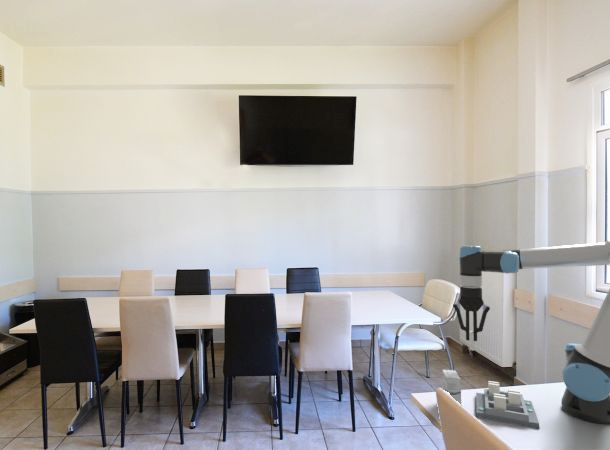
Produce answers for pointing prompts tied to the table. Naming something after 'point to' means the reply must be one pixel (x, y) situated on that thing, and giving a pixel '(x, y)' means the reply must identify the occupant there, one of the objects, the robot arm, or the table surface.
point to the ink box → (452, 384)
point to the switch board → (511, 414)
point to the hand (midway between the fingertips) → (471, 349)
